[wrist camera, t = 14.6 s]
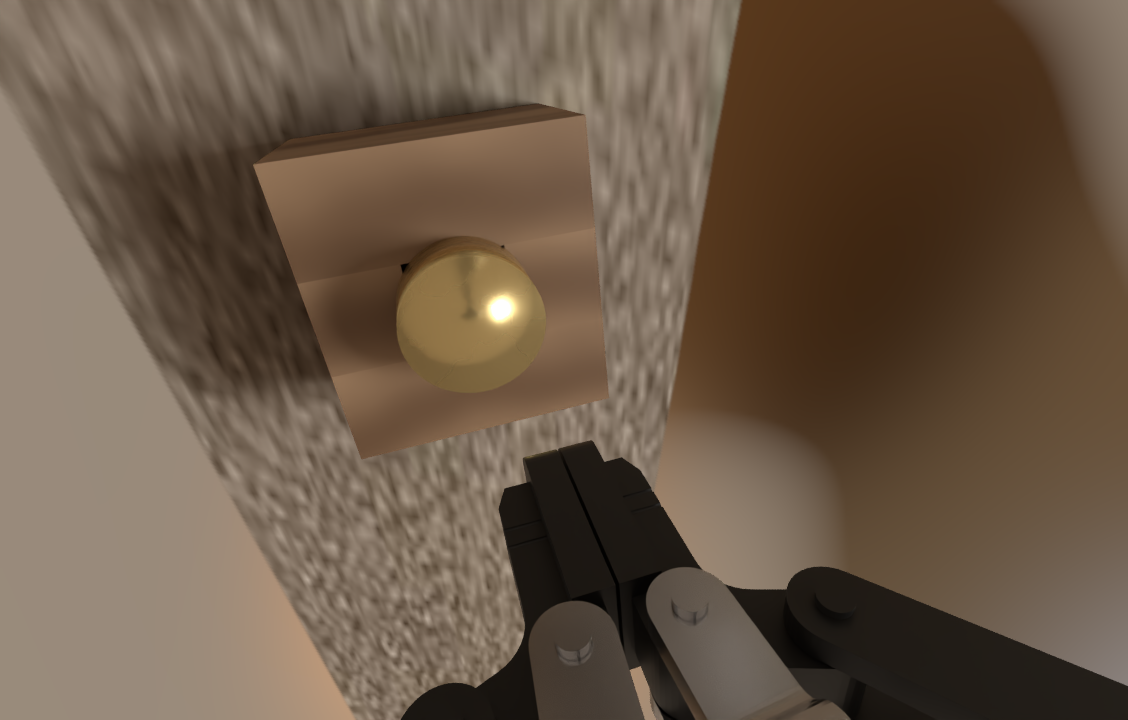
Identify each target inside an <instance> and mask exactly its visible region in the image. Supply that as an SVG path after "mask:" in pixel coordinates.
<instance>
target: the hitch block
mask: <svg viewBox="0 0 1128 720" xmlns="http://www.w3.org/2000/svg"><path fill="white" fill-rule="evenodd" d="M253 166H254V169H255V171H256V174H257V177H258V180H259V182H260V185H261V188H262V190H263V193H264V196H265V199H266V201H267V204H268V207H269V209H270V212H271V215H272V218H273V220H274V223H275V226H276V228H277V231H278V234H279V237H280V239H281V242H282V245H283V247H284V250H285V253H286V256H287V258H288V261H289V264H290V266H291V269H292V272H293V275H294V277H295V280H296V283H297V285H298V288H299V291H300V294H301V296H302V299H303V302H304V304H305V307H306V310H307V313H308V315H309V318H310V321H311V323H312V326H313V329H314V332H315V334H316V337H317V340H318V342H319V345H320V348H321V351H322V353H323V356H324V359H325V361H326V364H327V367H328V370H329V372H330V375H331V378H332V380H333V383H334V386H335V389H336V391H337V394H338V397H339V399H340V402H341V405H342V408H343V410H344V413H345V416H346V418H347V421H348V424H349V427H350V429H351V432H352V435H353V437H354V440H355V443H356V446H357V448H358V451H359V454H360V456H361V459H364V458H368V457H372V456H376V455H381V454H385V453H389V452H393V451H397V450H401V449H405V448H409V447H413V446H417V445H421V444H425V443H429V442H433V441H437V440H441V439H445V438H449V437H453V436H457V435H461V434H465V433H469V432H473V431H477V430H481V429H485V428H489V427H493V426H497V425H501V424H506V423H510V422H514V421H518V420H522V419H526V418H530V417H534V416H538V415H542V414H546V413H550V412H554V411H558V410H562V409H566V408H570V407H574V406H578V405H582V404H586V403H590V402H594V401H598V400H602V399H606V398H609V394H608V382H607V370H606V358H605V346H604V333H603V321H602V309H601V297H600V285H599V273H598V261H597V249H596V237H595V225H594V212H593V200H592V188H591V176H590V164H589V152H588V140H587V128H586V116H585V115H584V114H579V113H575V112H571V111H567V110H563V109H559V108H555V107H550V106H546V105H542V104H532V105H525V106H518V107H511V108H504V109H497V110H490V111H483V112H476V113H469V114H462V115H455V116H448V117H441V118H434V119H427V120H420V121H413V122H406V123H399V124H392V125H385V126H378V127H371V128H364V129H357V130H350V131H343V132H336V133H329V134H322V135H315V136H308V137H301V138H294V139H289V140H288V141H286V142H285V143H283V144H282V145H281V146H279V147H278V148H276V149H275V150H273V151H272V152H270V153H269V154H268V155H266V156H265V157H263V158H262V159H260V160H259V161H257V162H256V163H255V164H253ZM457 236H473V237H480V238H484V239H487V240H490V241H492V242H495V243H497V244H499V245H500V246H502V247H504V248H505V249H506V250H508V251H509V252H510V253H511V254H512V255H513V256H514V257H515V258H516V259H517V260H518V262H519V263H520V264H521V266H522V267H523V269H524V270H525V272H526V273H527V275H528V276H529V278H530V279H531V281H532V282H533V284H534V285H535V287H536V288H537V290H538V292H539V294H540V296H541V298H542V301H543V304H544V308H545V313H546V331H545V336H544V340H543V343H542V345H541V348H540V350H539V352H538V354H537V356H536V357H535V359H534V360H533V362H532V363H531V364H530V365H529V366H528V368H527V369H526V370H525V371H523V372H522V373H521V374H520V375H519V376H518V377H516V378H515V379H513V380H512V381H510V382H508V383H506V384H505V385H502V386H500V387H498V388H495V389H492V390H488V391H483V392H477V393H459V392H453V391H449V390H445V389H442V388H439V387H437V386H435V385H433V384H431V383H429V382H427V381H426V380H424V379H423V378H422V377H420V376H419V375H418V374H417V373H416V372H415V371H414V370H413V369H412V368H411V367H410V365H409V364H408V363H407V361H406V359H405V358H404V356H403V354H402V352H401V349H400V346H399V342H398V338H397V323H396V294H397V288H398V284H399V280H400V278H401V275H402V273H403V272H404V270H405V268H406V266H407V265H408V264H409V262H410V261H411V260H412V259H413V258H414V257H415V256H416V255H417V254H418V253H419V252H420V251H422V250H423V249H424V248H426V247H427V246H429V245H431V244H433V243H435V242H437V241H440V240H442V239H446V238H450V237H457Z"/></svg>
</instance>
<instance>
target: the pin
mask: <svg viewBox="0 0 1128 720" xmlns="http://www.w3.org/2000/svg"><path fill="white" fill-rule="evenodd" d="M396 323H397V338H398V342H399V346H400V349H401V352H402V354H403V356H404V358H405V359H406V361H407V363H408V364H409V365H410V367H411V368H412V369H413V370H414V371H415V372H416V373H417V374H418V375H419V376H420V377H422V378H423V379H424V380H426V381H427V382H429V383H431V384H433V385H435V386H437V387H439V388H442V389H445V390H449V391H453V392H459V393H477V392H483V391H488V390H492V389H495V388H498V387H500V386H502V385H505V384H506V383H508V382H510V381H512V380H513V379H515V378H516V377H518V376H519V375H520V374H521V373H522V372H523V371H525V370H526V369H527V368H528V366H529V365H530V364H531V363H532V362H533V360H534V359H535V357H536V356H537V354H538V352H539V350H540V348H541V345H542V343H543V340H544V336H545V331H546V313H545V308H544V304H543V301H542V298H541V296H540V294H539V292H538V290H537V288H536V287H535V285H534V284H533V282H532V281H531V279H530V278H529V276H528V275H527V273H526V272H525V270H524V269H523V267H522V266H521V264H520V263H519V262H518V260H517V259H516V258H515V257H514V256H513V255H512V254H511V253H510V252H509V251H508V250H506V249H505V248H504V247H502V246H500V245H499V244H497V243H495V242H492V241H490V240H487V239H484V238H480V237H473V236H457V237H450V238H446V239H442V240H440V241H437V242H435V243H433V244H431V245H429V246H427V247H426V248H424V249H423V250H422V251H420V252H419V253H418V254H417V255H416V256H415V257H414V258H413V259H412V260H411V261H410V262H409V264H408V265H407V266H406V268H405V270H404V272H403V273H402V275H401V278H400V280H399V284H398V288H397V294H396Z"/></svg>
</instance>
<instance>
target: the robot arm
mask: <svg viewBox="0 0 1128 720" xmlns="http://www.w3.org/2000/svg"><path fill="white" fill-rule="evenodd" d="M523 464H524V470H525V476H526V481H527V483H524V484H520V485H516V486H513V487H509V488H505V489H504V492H503V496H502V499H501V503H500V506H499V513H500V517H501V522H502V527H503V531H504V536H505V540H506V545H507V549H508V554H509V559H510V563H511V567H512V571H513V576H514V580H515V584H516V588H517V592H518V597H519V601H520V605H521V609H522V613H523V618H524V622H525V631H524V637H523V640H522V642H521V645H520V647H519V649H518V651H517V653H516V654H515V655H514V657H513V658H512V660H511V661H510V662H509V663H508V664H507V665H506V666H505V667H504V668H503V669H501V670H500V671H499V672H498V673H496V674H495V675H493V676H492V677H491V678H489V679H488V680H486V681H485V682H484V683H482V684H481V685H479V686H478V687H477V688H474V687H472V686H471V685H467V684H463V683H448V684H444V685H440V686H437V687H435V688H433V689H431V690H429V691H427V692H426V693H424V694H423V695H421V696H420V697H419V698H418V699H417V700H415V702H414V703H413V704H412V705H411V706H410V707H409V708H408V709H407V711H406V712H405V714H404V715H403V717H402V718H401V720H645V719H644V716H643V712H642V709H641V706H640V703H639V699H638V696H637V693H636V690H635V686H634V683H633V680H632V677H631V673H630V670H631V669H633V668H636V667H639V666H641V668H642V670H643V673H644V675H645V678H646V680H647V683H648V685H649V688H650V703H651V707H652V711H653V713H654V716H655V718H656V720H1128V686H1126V685H1124V684H1121V683H1119V682H1116V681H1114V680H1111V679H1109V678H1106V677H1104V676H1101V675H1099V674H1097V673H1094V672H1092V671H1089V670H1087V669H1084V668H1081V667H1079V666H1077V665H1074V664H1072V663H1069V662H1067V661H1064V660H1062V659H1059V658H1057V657H1055V656H1052V655H1050V654H1047V653H1045V652H1042V651H1040V650H1037V649H1035V648H1032V647H1029V646H1027V645H1025V644H1022V643H1020V642H1018V641H1015V640H1013V639H1010V638H1008V637H1005V636H1003V635H1000V634H998V633H995V632H993V631H990V630H988V629H985V628H983V627H980V626H978V625H975V624H973V623H971V622H968V621H966V620H963V619H961V618H958V617H956V616H953V615H951V614H948V613H946V612H943V611H941V610H938V609H936V608H933V607H931V606H929V605H926V604H924V603H921V602H919V601H916V600H914V599H911V598H909V597H906V596H904V595H901V594H899V593H896V592H894V591H892V590H889V589H886V588H884V587H882V586H879V585H877V584H874V583H872V582H869V581H867V580H864V579H862V578H859V577H857V576H854V575H852V574H850V573H847V572H844V571H841V570H839V569H835V568H830V567H812V568H807V569H804V570H802V571H800V572H798V573H797V574H795V575H794V576H793V578H791V580H790V582H789V583H788V587H787V590H753V589H752V590H751V589H740V588H735V587H731V586H728V585H725V584H724V583H723V582H722V581H720V580H719V579H718V578H717V577H715V576H714V575H712V574H711V573H708V572H706V571H704V570H702V569H701V568H700V566H699V565H698V564H697V562H696V561H695V559H694V557H693V556H692V554H691V553H690V551H689V549H688V548H687V546H686V544H685V543H684V541H683V539H682V538H681V536H680V535H679V533H678V531H677V530H676V528H675V526H674V525H673V523H672V521H671V520H670V518H669V517H668V515H667V513H666V512H665V510H664V508H663V507H661V505H660V502H659V500H658V499H657V497H656V495H655V494H654V492H652V490H651V487H650V485H649V484H648V482H647V481H646V479H645V477H644V476H643V474H642V472H641V471H640V470H639V469H638V468H636V467H635V466H633V465H632V464H630V463H629V462H627V461H626V460H625V459H623V458H618V459H614V460H610V461H606V462H604V461H603V459H602V457H601V455H600V453H599V451H598V449H597V447H596V446H595V444H594V442H593V441H592V440H590V441H586V442H582V443H578V444H575V445H571V446H567V447H563V448H559V449H558V451H557V450H552V451H548V452H544V453H540V454H536V455H532V456H528V457H524V458H523Z"/></svg>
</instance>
